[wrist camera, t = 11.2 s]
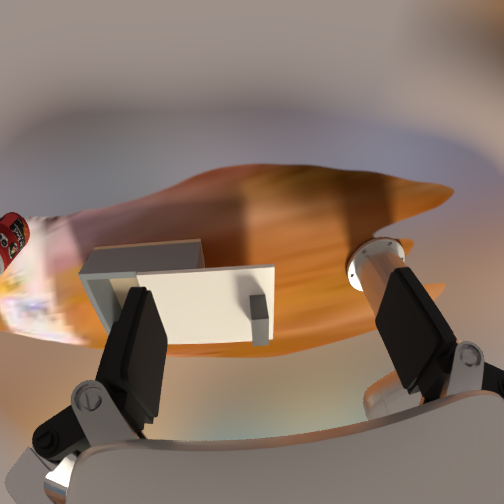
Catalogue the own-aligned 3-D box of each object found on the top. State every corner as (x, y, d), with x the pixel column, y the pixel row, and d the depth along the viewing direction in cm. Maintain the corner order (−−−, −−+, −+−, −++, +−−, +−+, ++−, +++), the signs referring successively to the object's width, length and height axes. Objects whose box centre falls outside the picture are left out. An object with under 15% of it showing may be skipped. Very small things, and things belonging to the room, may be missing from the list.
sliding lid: (273, 263, 41) (279, 290, 36) (272, 335, 50) (276, 362, 45) (137, 272, 40) (127, 298, 36) (162, 340, 49) (158, 366, 45)
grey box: (200, 238, 47) (196, 267, 41) (212, 307, 56) (210, 338, 50) (94, 246, 47) (78, 274, 40) (120, 310, 56) (110, 339, 49)
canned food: (32, 247, 45) (6, 281, 36) (6, 239, 44) (-21, 271, 35) (28, 214, 41) (-3, 246, 32) (1, 207, 40) (-30, 237, 31)
